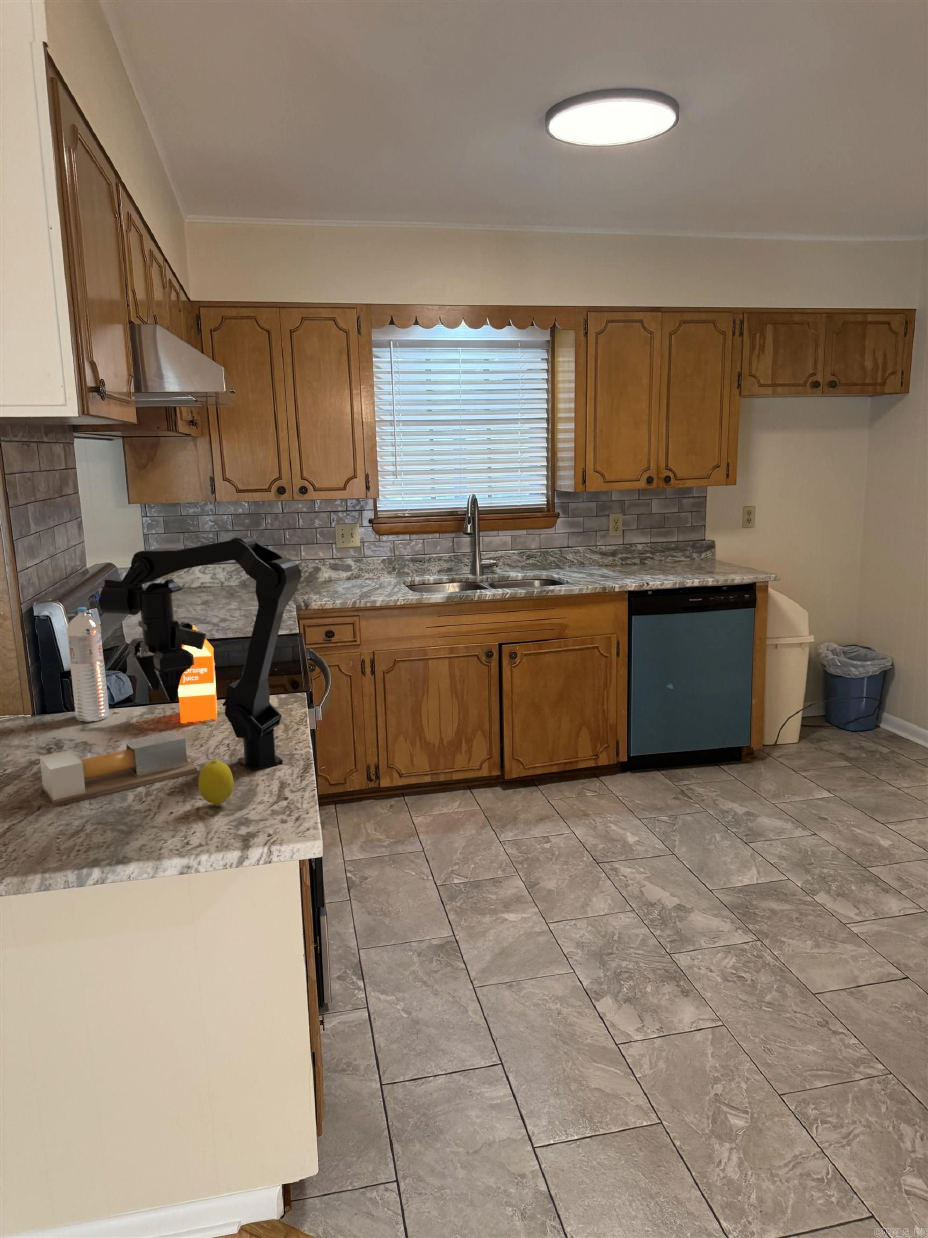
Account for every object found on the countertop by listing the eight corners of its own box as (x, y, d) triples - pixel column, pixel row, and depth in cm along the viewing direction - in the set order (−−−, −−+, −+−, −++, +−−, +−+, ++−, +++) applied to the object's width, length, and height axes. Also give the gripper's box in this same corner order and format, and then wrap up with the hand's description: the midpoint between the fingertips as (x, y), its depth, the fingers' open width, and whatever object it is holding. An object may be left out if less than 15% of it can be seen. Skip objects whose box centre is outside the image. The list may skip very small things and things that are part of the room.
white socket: (85, 792, 142) (82, 762, 141) (53, 800, 139) (50, 769, 138) (73, 778, 148) (70, 750, 147) (42, 785, 145) (39, 756, 144)
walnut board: (197, 772, 153) (197, 768, 152) (55, 806, 138) (55, 802, 138) (178, 757, 160) (177, 753, 160) (42, 788, 146) (41, 784, 146)
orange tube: (143, 769, 149) (141, 750, 149) (65, 787, 142) (63, 767, 141) (136, 763, 152) (135, 745, 152) (60, 781, 144) (58, 761, 144)
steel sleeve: (187, 765, 153) (185, 737, 152) (137, 777, 148) (134, 748, 147) (176, 757, 158) (174, 730, 157) (127, 768, 152) (125, 740, 151)
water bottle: (101, 723, 182) (90, 610, 177) (70, 723, 182) (58, 610, 177) (114, 713, 189) (104, 605, 184) (84, 713, 189) (73, 605, 184)
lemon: (222, 796, 141) (218, 751, 140) (241, 804, 138) (238, 758, 136) (193, 807, 137) (189, 761, 136) (213, 815, 134) (209, 768, 132)
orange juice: (180, 723, 181) (173, 633, 177) (182, 712, 189) (175, 625, 185) (217, 720, 183) (211, 631, 179) (218, 709, 191) (212, 623, 187)
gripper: (218, 617, 154) (224, 698, 157) (182, 604, 168) (187, 679, 171) (157, 625, 147) (164, 710, 150) (125, 611, 161) (132, 688, 164)
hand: (164, 696), depth 159 cm, fingers open, 9 cm apart
